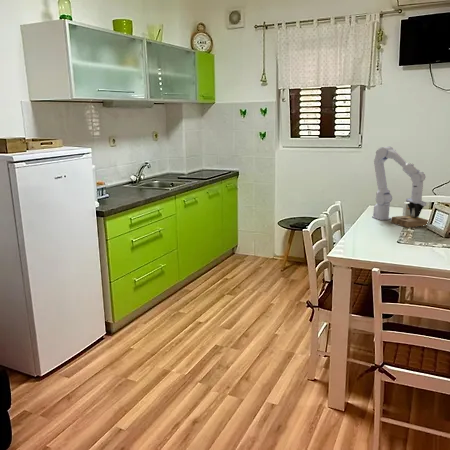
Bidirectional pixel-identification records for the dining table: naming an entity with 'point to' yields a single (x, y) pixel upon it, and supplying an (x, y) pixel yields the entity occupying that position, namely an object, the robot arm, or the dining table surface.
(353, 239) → the dining table surface
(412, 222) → the board
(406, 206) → the small box
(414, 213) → the pin
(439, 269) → the dining table surface
